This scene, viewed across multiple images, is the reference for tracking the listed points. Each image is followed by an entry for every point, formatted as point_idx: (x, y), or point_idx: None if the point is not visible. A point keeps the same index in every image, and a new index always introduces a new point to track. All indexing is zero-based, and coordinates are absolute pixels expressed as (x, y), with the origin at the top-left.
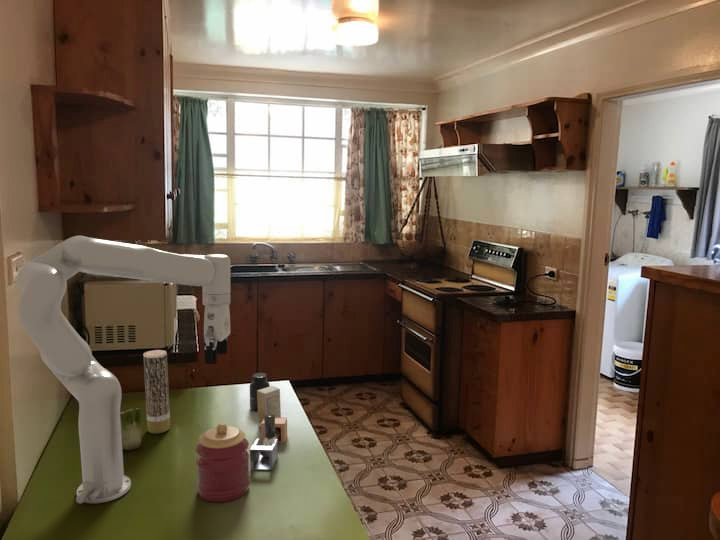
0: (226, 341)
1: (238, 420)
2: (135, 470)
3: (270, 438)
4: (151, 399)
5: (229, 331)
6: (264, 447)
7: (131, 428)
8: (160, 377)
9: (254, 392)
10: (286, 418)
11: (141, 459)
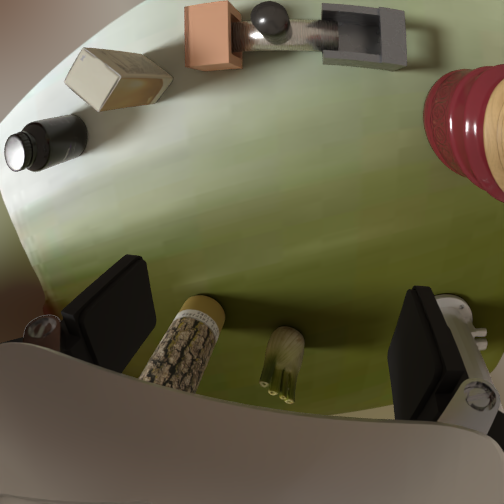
0: (78, 315)
1: (132, 161)
2: (377, 306)
3: (295, 27)
4: (203, 369)
5: (8, 376)
6: (392, 29)
7: (288, 363)
8: None
9: (57, 149)
10: (190, 6)
11: (334, 309)
